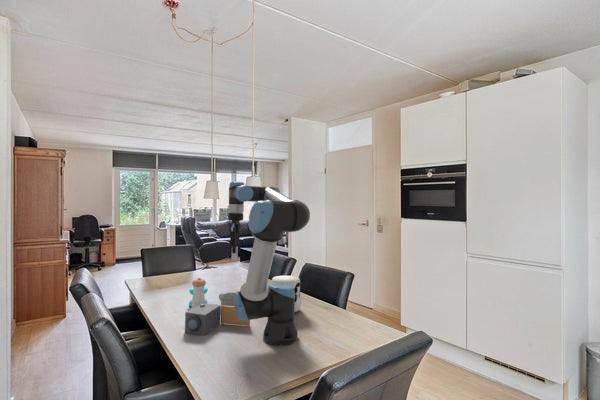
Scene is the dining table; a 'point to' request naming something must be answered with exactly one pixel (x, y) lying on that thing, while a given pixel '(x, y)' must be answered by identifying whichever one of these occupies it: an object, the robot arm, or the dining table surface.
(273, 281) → the milk container
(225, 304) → the teacup
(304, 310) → the dining table surface
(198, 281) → the salt shaker
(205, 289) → the donuts
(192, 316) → the camera housing
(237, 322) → the side door
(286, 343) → the robot arm
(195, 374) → the dining table surface
